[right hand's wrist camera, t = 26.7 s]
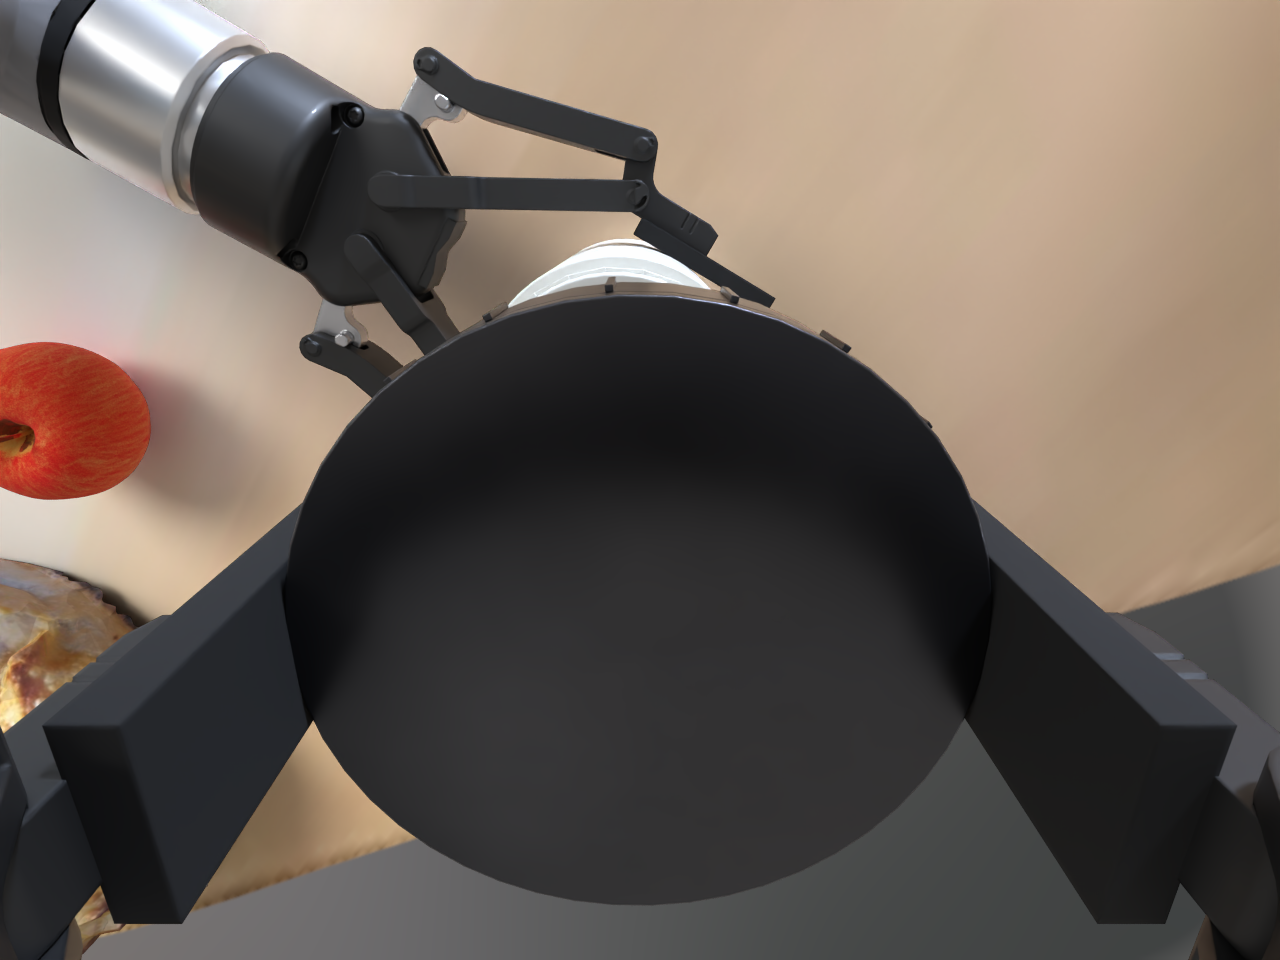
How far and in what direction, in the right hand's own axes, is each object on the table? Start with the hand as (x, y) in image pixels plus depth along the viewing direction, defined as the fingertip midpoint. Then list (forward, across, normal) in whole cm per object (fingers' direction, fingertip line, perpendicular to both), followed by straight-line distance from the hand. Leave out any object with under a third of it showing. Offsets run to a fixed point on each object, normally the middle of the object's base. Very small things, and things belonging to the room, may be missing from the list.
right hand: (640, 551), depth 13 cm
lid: (-3, 0, 0) cm, 3 cm away
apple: (+26, +30, +4) cm, 40 cm away
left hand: (+20, -3, +2) cm, 20 cm away
